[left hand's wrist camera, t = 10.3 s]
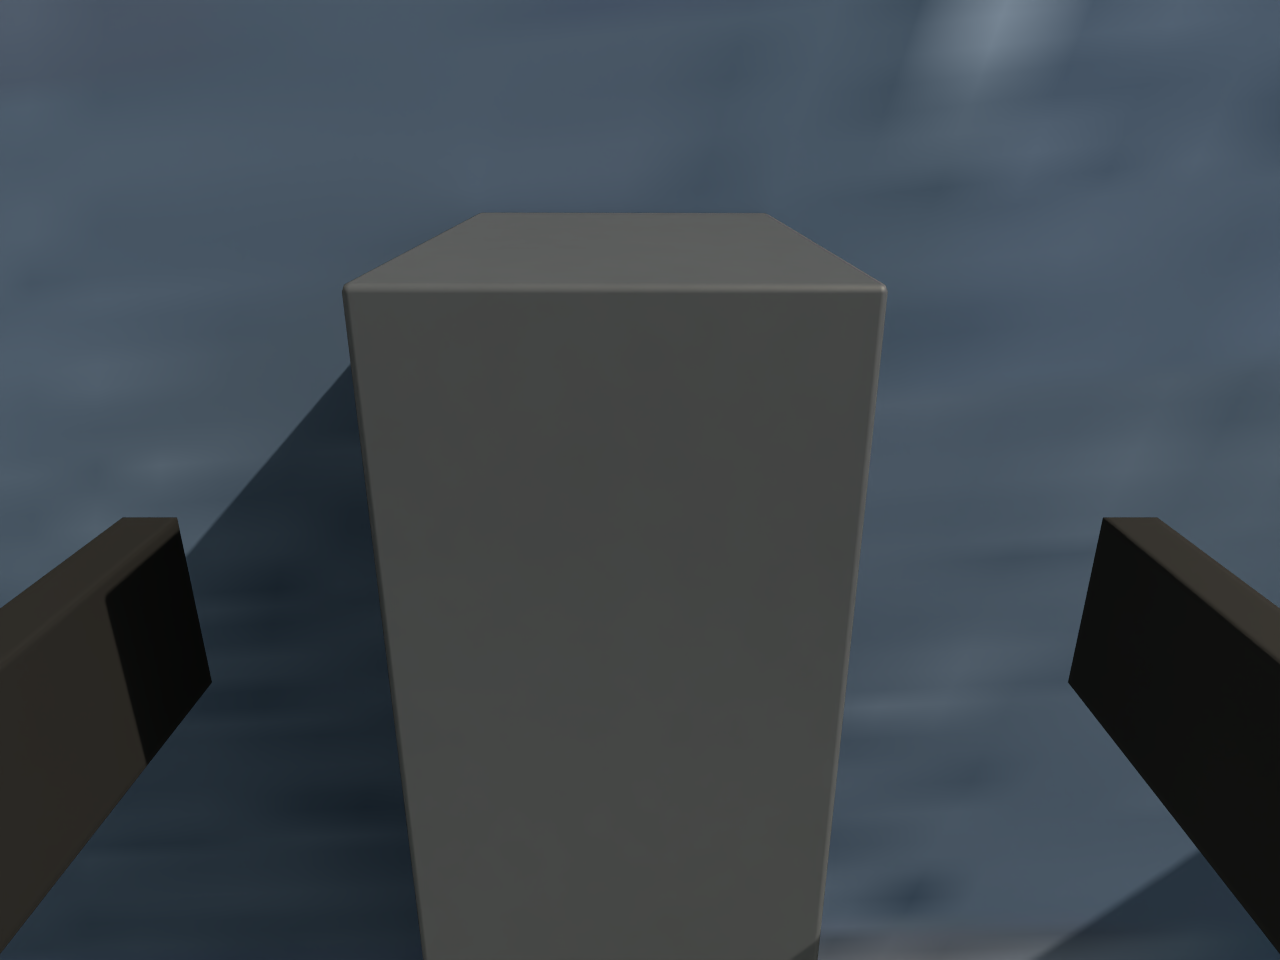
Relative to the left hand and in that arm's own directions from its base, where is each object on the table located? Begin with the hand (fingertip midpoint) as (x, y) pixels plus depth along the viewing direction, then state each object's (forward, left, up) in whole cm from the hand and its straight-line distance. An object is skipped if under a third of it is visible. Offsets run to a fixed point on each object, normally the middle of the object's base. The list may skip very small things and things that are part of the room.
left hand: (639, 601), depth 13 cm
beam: (+3, +23, -4) cm, 24 cm away
